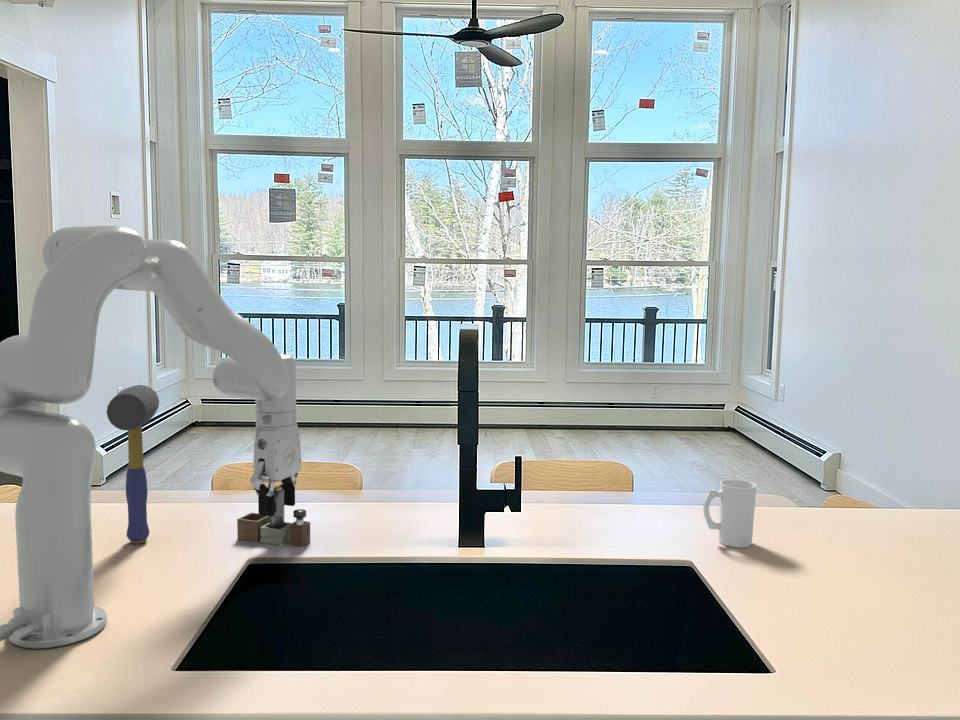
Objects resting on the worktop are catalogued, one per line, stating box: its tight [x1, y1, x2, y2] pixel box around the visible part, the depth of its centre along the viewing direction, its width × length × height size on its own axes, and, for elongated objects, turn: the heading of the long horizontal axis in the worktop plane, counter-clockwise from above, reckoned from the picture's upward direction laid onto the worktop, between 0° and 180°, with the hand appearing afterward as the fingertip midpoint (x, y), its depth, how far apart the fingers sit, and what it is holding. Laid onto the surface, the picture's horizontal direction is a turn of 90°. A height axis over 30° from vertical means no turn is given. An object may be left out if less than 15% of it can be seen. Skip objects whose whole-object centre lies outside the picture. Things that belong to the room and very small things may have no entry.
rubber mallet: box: [106, 384, 160, 544], centre depth 151 cm, size 12×8×30 cm, turn 11°
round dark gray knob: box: [292, 508, 307, 525], centre depth 153 cm, size 2×2×6 cm
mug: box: [703, 478, 757, 549], centre depth 157 cm, size 10×7×12 cm, turn 92°
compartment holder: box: [236, 512, 311, 547], centre depth 155 cm, size 5×14×4 cm, turn 71°
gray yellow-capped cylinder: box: [270, 485, 285, 529], centre depth 154 cm, size 3×3×11 cm
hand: (277, 509), depth 154 cm, fingers open, 6 cm apart
